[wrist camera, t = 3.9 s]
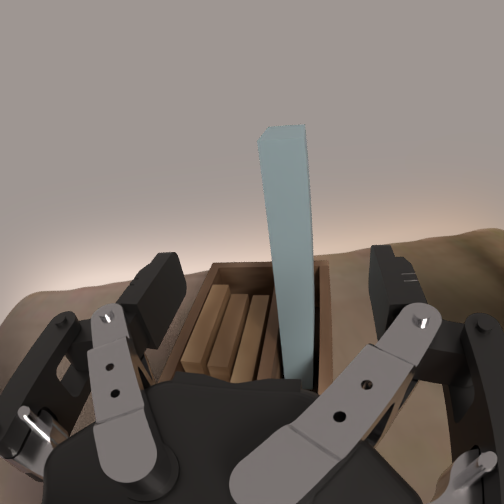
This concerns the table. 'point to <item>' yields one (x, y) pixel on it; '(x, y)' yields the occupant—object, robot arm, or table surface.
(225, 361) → the offcuts
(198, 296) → the rack
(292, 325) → the panel
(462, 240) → the table surface
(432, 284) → the table surface
